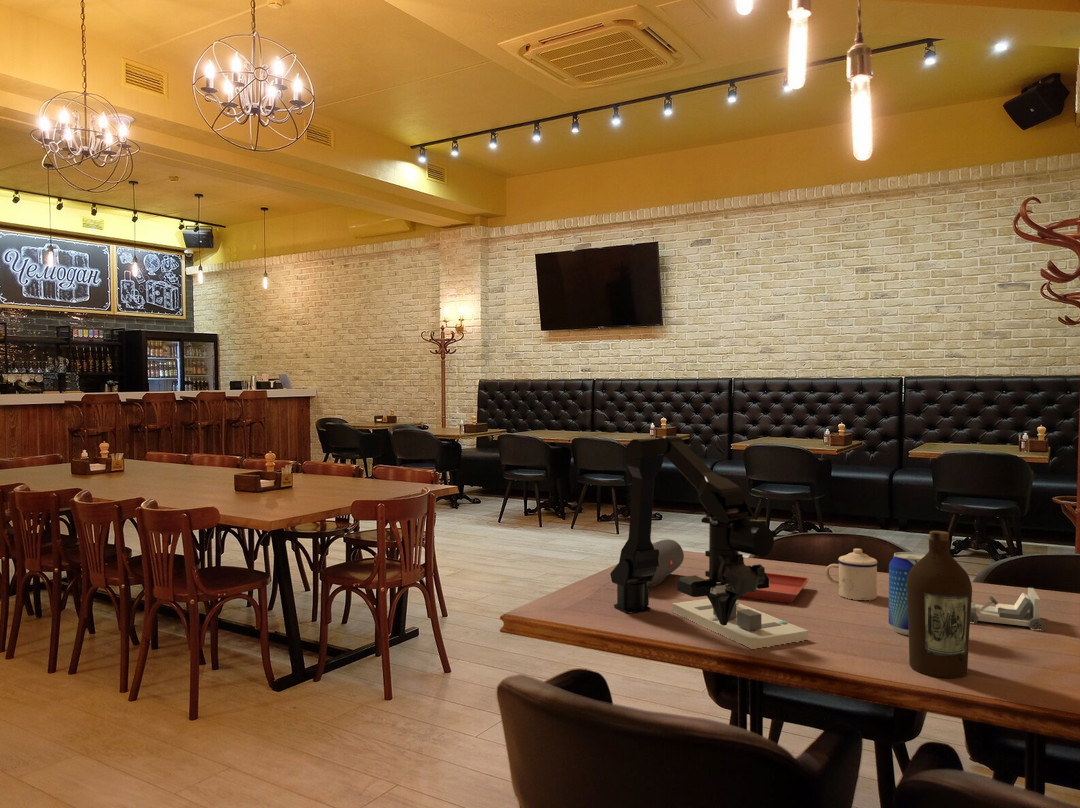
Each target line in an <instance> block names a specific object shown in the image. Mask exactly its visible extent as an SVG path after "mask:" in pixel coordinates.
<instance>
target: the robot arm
mask: <svg viewBox="0 0 1080 808" xmlns="http://www.w3.org/2000/svg"><path fill="white" fill-rule="evenodd" d="M665 457H666V459H668V461H669V462H670V463H671V464H672V465H673V466H674V467H675V468H676V469H677V470H678V471H679V472H680V473H681V474H682V475H683V477H685V478H686V480H688V482H690V484H691V485H692V486H694V487H695V490H696V491H697V496H698V500H699V501H700V503H701V504H702V506H703V507H704V508H705V510H706V511H707V514H706V515H705V516H703V517H702V518H701V522H702V523H704V524H709V527H708V528H709V529H708V530H709V533H708V534H709V538H708V540H709V541H708V543H709V550H705V555H704V556H705V557H707V558H709V559H708V560H709V561H708V562H709V563H708V564H709V566H708V567H709V570H705V572H704V573H705V575H704V576H705V577H707V578H703V577H700V576H698V575H695V574H694V575H686V576H680V577H679V578H678V580H677V582H676V583H677V587H676V589H677V590H676V591H677V592H680V593H683V594H685V595H687V596H690V597H691V598H701V597H707V599H709V600H710V602H711V604H712V606H713V608H714V611H715V613H716V615H717V618H718V620H719V622H720V624H721V625H723V626H724V625H727V623H728V620H729V618H730V615H731V612H732V609H733V607H734V605H735V603H736V602H737V600H738V599H739V598H742V597H741V596H742V595H745V594H746V592H755V591H756V588H757V589H762V588H769V578H768V576H767V574H766V573H767V572H766V569H765V567H764V566H763V565H762V564H753V565H746V564H745V561H744V559H745V558H744V556H743V553H744V554H748V555H752V556H756V557H757V556H758V557H761V558H764V557H766V556H768V555H769V554H771V551H772V550H773V547H774V543H775V538H774V535H773V532H772V531H771V529H770V528H769V527H767V521H766V520H765V519H756V516H755V515H754V512H753V511H752V509H751V507H750V506H749V503H748V501H747V499H746V498H745V496H744V494H745V493H744V491H743V489H742V488H741V487H740V486H739V485H738V484H736V483H734V482H733V481H732V480H731V479H728V478H726V477H724V476H721V475H719V474H717V473H715V472H714V471H713V470H712V469H711V468H710V467H709V466H708V465H707V464H706V463H705V461H703V460H702V459H701V458H700V457H699V456H698V455H697V454H696V453H695V452H694V451H693V450H692V449H691V448H690V447H688V445H687V444H685V441H684V439H683V438H682V437H680V436H679V435H670V436H669V435H666V436H665V435H664V436H662V437H659V438H656V437H653V438H651V437H650V438H633V439H631V440H630V441H629V443H627V445H626V447H625V462H626V467H627V468H628V471H629V472H630V475H631V477H632V480H631V493H630V494H631V495H630V511H629V528H628V530H629V531H628V539H627V540H626V542H625V543H624V545H623V546H622V548H621V550H620V556H619V560H618V563H617V564H616V565H615V567H614V568H613V569H612V571H611V572H610V578H611V580H610V581H611V582H612V583H613V584H615V585H617V586H616V589H617V590H616V595H617V596H616V600H617V602H616V603H613V607H614V608H616V609H617V610H620V611H622V612H624V613H625V614H632V613H638V612H639V613H640V612H648V611H651V610H652V608H651V607H650V606H649V604H650V599H649V598H650V597H649V596H650V594H649V593H650V587H647V582H652V581H653V577H654V574H655V572H656V569H657V567H658V566H659V564H658V557H659V550H658V549H655V548H654V546H653V542H652V540H651V539H652V538H651V536H652V524H653V523H652V521H653V508H654V507H653V506H654V494H655V493H654V489H655V479H656V477H657V475H658V473H659V472H660V470H661V469H662V467H663V463H664V458H665ZM739 552H740V553H739Z"/></svg>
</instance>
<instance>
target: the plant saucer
mask: <svg viewBox="0 0 1080 808" xmlns="http://www.w3.org/2000/svg"><path fill="white" fill-rule="evenodd" d="M765 573H766V574H767V576H768V578H769V588H762V589H757V588H756V591H755V592H746V594H745V595H742V597H741V598H745V597H748V598H747V599H753V598H756V599H755V600H760V599H762V600H763V601H768V600H769V602H776V601H778V603H784V602H787V603H786V604H792V603H793V601H795V599H796V598H797V597H798V595H799V593H801V591H802V590H803V589H804V588H805V586H806V585H807V583H808V581H809V580H810V578H809V577H804V576H797V575H795V576H794V575H787V574H779V573H771V572H765ZM762 600H761V601H762Z"/></svg>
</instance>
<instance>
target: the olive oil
mask: <svg viewBox="0 0 1080 808" xmlns="http://www.w3.org/2000/svg"><path fill="white" fill-rule="evenodd" d="M949 537H950V533H949V532H948V531H944V530H943V531H941V530H930V531H929V538H928V552H927V553H926V554H924V555H925V556H924V557H923V558H922V559H921V560H919V561H918V562H917V563H916V564H915V565H914V566H913V567H912V568H911V570H910V571H909V574H908V577H907V582H906V587H907V606H908V629H909V635H908V657H909V659H908V660H909V667H910V668H911V669H913V670H914V671H915V672H918V673H919V674H924V675H926V674H927V676H929V677H935V676H936V678H941V677H944V678H943V679H957V677H959V678H962V676H963V677H965V676H967V674H968V669H969V667H968V665H969V642H970V627H971V623H970V614H971V601H973V585H972V581H971V578H970V576H969V574H968V572H967V571H966V570H965V568H963V566H962V565H960V563H958V561H957V560H956V559H955V558H954V557H953V556H952V554H951V553H950V544H951V543H950V542H951V541H950V539H949Z"/></svg>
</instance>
